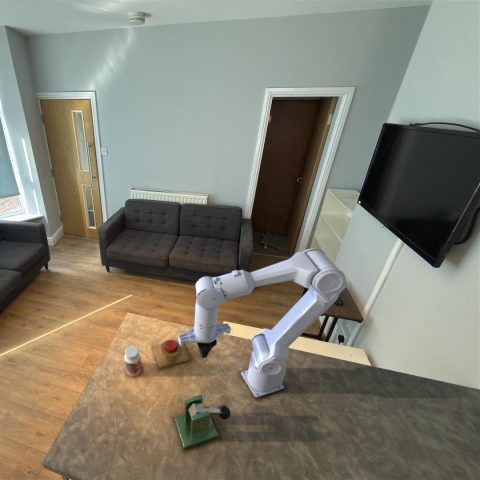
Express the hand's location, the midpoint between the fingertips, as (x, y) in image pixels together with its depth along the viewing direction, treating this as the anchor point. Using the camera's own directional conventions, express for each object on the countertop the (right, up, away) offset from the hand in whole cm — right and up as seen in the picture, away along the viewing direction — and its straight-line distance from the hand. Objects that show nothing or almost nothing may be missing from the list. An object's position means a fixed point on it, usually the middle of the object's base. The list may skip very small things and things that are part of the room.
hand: (203, 355), depth 74 cm
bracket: (-3, -16, -7) cm, 17 cm away
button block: (-9, -5, +13) cm, 16 cm away
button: (-9, -3, +12) cm, 15 cm away
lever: (0, -12, -8) cm, 14 cm away
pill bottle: (-20, -8, +8) cm, 24 cm away
